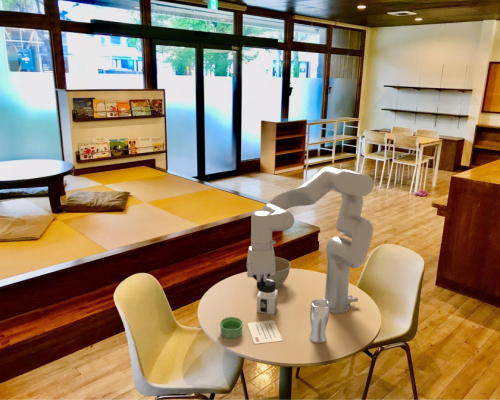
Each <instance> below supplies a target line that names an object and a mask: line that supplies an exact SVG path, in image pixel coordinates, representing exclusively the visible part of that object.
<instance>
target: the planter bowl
mask: <svg viewBox="0 0 500 400" xmlns="http://www.w3.org/2000/svg"><path fill="white" fill-rule="evenodd" d="M290 268H291V262H289V260H288V259H285V258H282V257H278V256H275V275H272V276H270V277H269V278H268V279H270V280H273V281H274V282H275V289H278V288H279V289H280V288H281V287H282V286H283V284H284V283H285V281H286V280H287V278H288V277H289V273H290ZM261 278H262V274H261V275H260V279H261Z"/></svg>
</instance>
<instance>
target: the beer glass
mask: <svg viewBox="0 0 500 400" xmlns="http://www.w3.org/2000/svg"><path fill="white" fill-rule="evenodd" d="M322 299H323V298H321V299H320V298H317V299H312V301H311V303H310V304H311V305H310V312H309V319H310V329H311V330H310V331H311V332H310V334H309V340H310V341H312V342H313V343H316V344H323V343H325V342H326V340H327V336H326V330H327V327H328V321H329V319H330V318H329V317H330V312H329V303H328V302H327V301H325V300H322Z"/></svg>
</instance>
